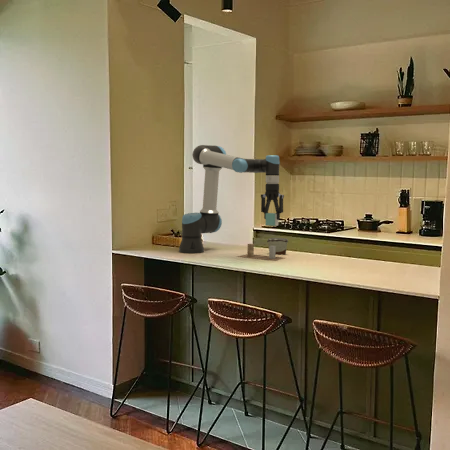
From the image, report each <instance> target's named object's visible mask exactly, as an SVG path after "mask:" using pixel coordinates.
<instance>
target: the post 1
mask: <svg viewBox="0 0 450 450" xmlns="http://www.w3.org/2000/svg"><path fill="white" fill-rule="evenodd" d="M254 247H255V245H254V243H247V249H246V250H247V256H250V257H252V256H254V255H255V254H254V253H255V252H254V251H255V249H254Z"/></svg>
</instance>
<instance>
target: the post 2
mask: <svg viewBox="0 0 450 450" xmlns="http://www.w3.org/2000/svg"><path fill="white" fill-rule="evenodd" d="M275 251H276V246H269V245H268V256H269V259H275V257H276V255H275Z"/></svg>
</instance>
